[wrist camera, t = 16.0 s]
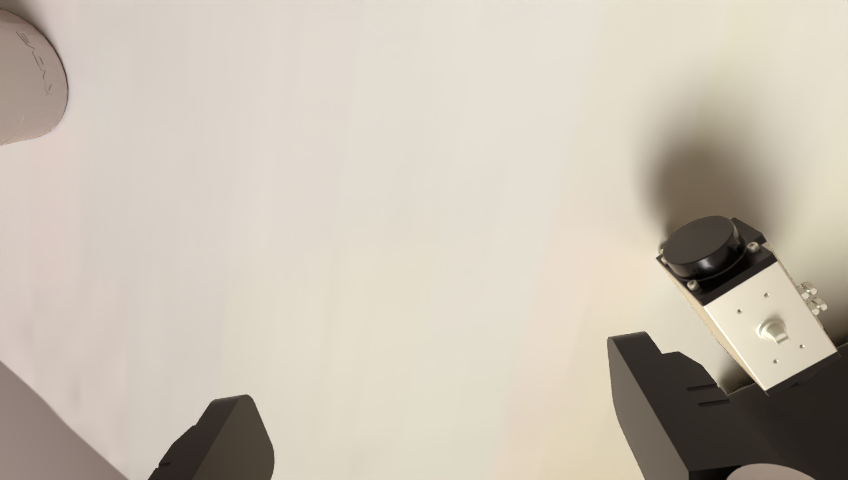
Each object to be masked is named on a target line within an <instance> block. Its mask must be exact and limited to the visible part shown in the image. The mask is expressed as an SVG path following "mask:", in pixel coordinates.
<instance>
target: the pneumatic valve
mask: <svg viewBox="0 0 848 480" xmlns="http://www.w3.org/2000/svg"><path fill="white" fill-rule="evenodd" d="M660 254H661V255H659V256H658V257H656V259H657V261H658V262H659V263H660V265H661V266H662V267H663V269H664V270H665V271H666V273H667V274H668V276H669V277H670V278H671V280H672V281H673V282H674V284H675V285H676V286H677V288H678V289H679V290H680V292H681V293H682V294H683V296H684V297H685V298H686V300H687V301H688V302H689V304H690V305H691V306H692V308H693V309H694V310H695V312H696V313H697V314H698V316H699V317H700V318H701V320H702V321H703V322H704V324H705V325H706V326H707V328H708V329H709V330H710V332H711V333H712V334H713V336H714V337H715V338H716V340H717V341H718V343H719V344H720V345H721V346H722V347H723V348H724V349H725V350H726V351H727V352H728V353H729V354H730V356H731V357H732V358H733V359H734V360H735V361H736V362H737V363H738V364H739V365H740V366H741V367H742V368H743V370H744V371H745V372H746V373H747V374H748V375H749V376H750V377H751V378H752V379H753V380H754V381H755V382H756V384H757V385H758V386H759V387H760V388H761V389H762V390H763V391H764V392H765V393H766V394H767V395H768V396H772V395H774V394H776V393H777V392H779V391H781V390H783V389H786V388H792V387H796V386H799V385H801V384H803V383H805V382H807V381H809V380H810V379H811V378H813V377H814V376H815V375H816V373H817V372H818V371H819V370H820V369H822V368H824V367H826V366H827V365H829V364H831V363H833V362H835V361H837V360H838V359H840V358H841V355H840V354H839V352H838V351H837V349H836V348H835V346H834V345H833V343H832V342H831V340H830V339H829V337H828V333H827V332H826V330H825V329H824V327H823V326H822V324H821V323H820V321H819V319H818V318H817V316H816V315H817V314H819V312H820V311H819V309H820V310H821V311H824V310H826V309H827V308H828V307H827V305H826V304H825V303H824V302H823V301H822V300H821V299H820V298H818V297H817V298H814V299H812V302H813V303H814V304H813V303H811V302H807V301H806V300H805V299H807V298H809V294H810V295H814V294H816V293H817V290H816V288H815V287H814V286H813V285H812V284H811V283H810V282H805V283H803V284H801V285H802V286H803V288H802V287H801V286H798V287H797V286H796V285H795V283H794V282H793V280H792V278H791V277H790V275H789V274H788V272H787V271H786V269H785V268H784V266H783V265H782V263H781V262H780V260H779V259H778V257H777V256H776V254H775V253H774V251H773V250H772V248H771V247H770V245H769V244H768V242H767V240H766V239H765V237H764V236H763V234H762V233H760V232H759V231H757V230H755V229H753V228H752V227H750V226H748V225H747V224H745V223H743V222H741V221H740V220H738V219H736V218H732V219H731V220H730V219H728V218H726V217H722V216H710V217H705V218H701V219H698V220H695V221H693V222H691V223H689V224H687V225H685V226H683V227H682V228H680V229H679V230H677V231H676V232H675V233H674V234H673V235H672V236H671V237H670V238H669V239H668V240H667V242H666V243H665V245H664V248H663V249H661V251H660ZM808 293H809V294H808ZM818 308H819V309H818Z"/></svg>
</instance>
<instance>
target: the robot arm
mask: <svg viewBox="0 0 848 480" xmlns="http://www.w3.org/2000/svg"><path fill="white" fill-rule="evenodd" d="M67 91H68V90H67V83H66V77H65V73H64V71H63V68H62V65H61V62H60V60H59V58H58V57H57V55H56V53H55V51H54V49H53V48H52V46H51V45H50V44H49V43H48V41H47V40H46V39H45V38H44V36H43V35H42V34H41V33H40V32H39V31H37V30H36V29H35V28H34V27H33V26H32V25H31V24H29V23H28V22H26V21H25V20H23V19H22V18H20V17H19V16H17V15H15V14H12V13H10V12H8V11H5V10H2V9H0V146H1V145H5V144H10V143H14V142H19V141H23V140H27V139H32V138H36V137H40V136H42V135H44V134H46V133H48V132H50V131H51V130H52V129H53V128H54V127H55V126H56V125H57V124H58V123H59V121H60V119H61V118H62V116H63V114H64V111H65V107H66V104H67ZM607 348H608V358H609V367H610V377H611V387H612V396H613V403H614V407H615V411H616V415H617V418H618V421H619V424H620V426H621V429H622V431H623V433H624V435H625V437H626V439H627V442H628V444H629V446H630V448H631V450H632V452H633V454H634V457H635V459H636V461H637V463H638V465H639V467H640V469H641V472H642V474H643V476H644V478H645V480H815V479H813V478H812V477H810V476H808V475H806V474H804V473H802V472H799V471H797V470H794V469H791V468H788V467H784V466H783V464H782V463H781V462H780V461H779V460H778V458H777V457H776V456H775V455H774V453H773V452H772V451H771V450H770V449H769V447H768V446H767V445H766V444H765V442H764V441H763V440H762V439H761V437H760V436H759V435H758V434H757V432H756V431H755V430H754V429H753V428H752V426H751V425H750V424H749V423H748V421H747V420H746V419H745V418H744V416H743V415H742V414H741V413H740V412H739V410H738V409H737V408H736V407H735V405H734V404H733V403H730V400H729V398H728V397H727V396H726V394H725V393H724V392H723V391H722V389H721V388H720V387H718V386H717V383H716V382H715V381H714V380H713V378H712V377H711V376H710V375H709V373H708V372H707V371H706V370H705V368H704V367H703V366H702V365H701V364H699V363H697V362H696V361H694V360H692V359H691V358H689V357H687V356H686V355H684V354H682V353H680V352H679V351H678V352H672V353H665V354H662V353H661V352H660V350H659V349H658V347H657V346H656V345H655V343H654V342H653V340H652V339H651V338H650V336H649V335H648V334H647V333H646V332H645V331H644V332H638V333H631V334H625V335H619V336H613V337H608V340H607ZM273 470H274V450H273V446H272V443H271V441H270V439H269V436H268V434H267V431H266V429H265V427H264V424H263V422H262V419H261V417H260V415H259V412H258V410H257V407H256V405H255V403H254V401H253V399H252V398H251V397H250V396H249V395H240V396H233V397H227V398H221V399H215V400H213V401H212V402H211V403H210V404H209V406H208V407H207V409H206V410H205V412H204V413H203V415H202V416H201V418H200V419H199V421H198V422H197V424H196V425H194V426H192V427H191V428H189V429H188V430H187V431H186V432H185V433H184V434H183V435H182V436H181V437H180V438H179V439H177V440H176V441H175V442H174V443H173V444H172V445H171V447H170V448H169V450H168V451H167V453H166V454H165V455H164V457H163V458H162V460H161V461H160V463H159V467H158V468H156V469H155V470H154V471H153V473H152V474H151V476H150V477H149V479H148V480H270V479H271V477H272V474H273Z"/></svg>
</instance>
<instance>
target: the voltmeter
mask: <svg viewBox="0 0 848 480" xmlns="http://www.w3.org/2000/svg"><path fill="white" fill-rule="evenodd" d="M836 349H837V351H838V352H839V354H840V355H841V358H840V359H838V360H837V361H835V362H833V363H831V364H829V365H827V366H826V367H824V368H822V369H820V370H819V371H818V372H817V373H816V375H815V376H814V377H813V378H811V379H810V380H809V381H807V382H805V383H803V384H801V385H799V386H796V387H792V388H786V389H783V390H781V391H779V392H777V393H776V394H774V395H772V396H768V395H767V394H766V393H765V392H764V391H763V390H762V389H761V388H760V387H759V386H758V385H757V384H756V382H755V383H753V384H751V385H742V386H740V387H738V388H737V389H736V391H735V392H732V393H730V394H728V395H726V396H727V397H728V398H729V400H730V403H733V404H734V405H735V407H736V408H737V409H738V410H739V412H740V413H741V414H742V415H743V416H744V418H745V419H746V420H747V421H748V423H749V424H750V425H751V426H752V428H753V429H754V430H755V431H756V432H757V434H758V435H759V436H760V437H761V439H762V440H763V441H764V442H765V444H766V445H767V446H768V447H769V449H770V450H771V451H772V452H773V453H774V455H775V456H776V457H777V458H778V460H779V461H780V462H781V463H782V464H783V466H784V467H788V468H791V469H794V470H797V471H799V472H802V473H804V474H806V475H808V476H810V477H812V478H813V479H815V480H848V343H846V344H843V345H841V346H839V347H837V348H836Z"/></svg>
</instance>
